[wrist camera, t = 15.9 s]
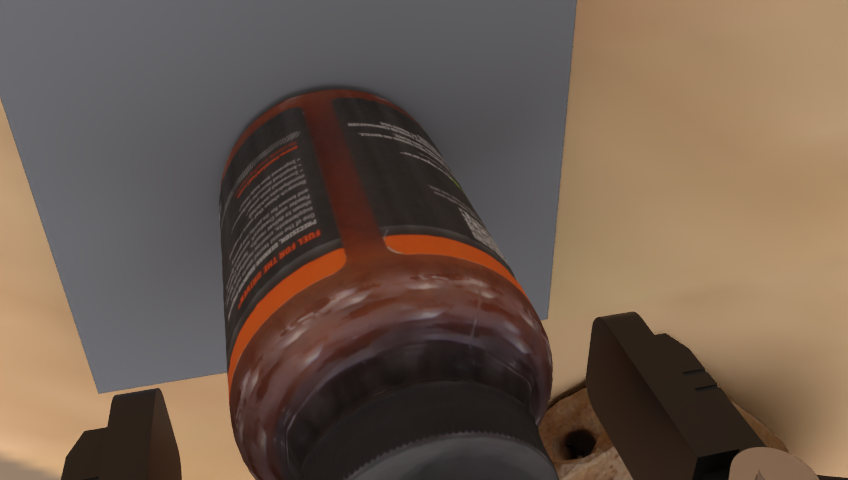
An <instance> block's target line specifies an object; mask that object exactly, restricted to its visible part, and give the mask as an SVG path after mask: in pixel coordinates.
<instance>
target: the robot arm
mask: <svg viewBox="0 0 848 480" xmlns="http://www.w3.org/2000/svg"><path fill="white" fill-rule="evenodd" d="M586 387H587V393H588V397H589V400H590V403H591V406H592V408H593V410H594V412H595V414H596V415H597V417H598V419H599V421H600V422H601V424H602V426H603V428H604V429H605V431H606V433H607V435H608V436H609V438H610V440H611V442H612V443H613V445H614V447H615V449H616V450H617V452H618V454H619V456H620V457H621V459H622V461H623V463H624V464H625V466H626V468H627V470H628V471H629V473H630V475H631V477H632V478H633V480H848V478H842V477H830V476H822V475H816V474H815V472H814V471H813V470H812V469H811V468H810V467H809V466H808V465H807V464H805V463H804V462H803V461H802V460H800V459H798V458H797V457H795V456H793V455H791V454H789V453H787V452H784V451H781V450H778V449H774V448H768V447H767V446H766V445H765V444H764V443H763V441H762V440H761V439H760V438H759V436H758V435H757V434H756V433H755V431H754V430H753V429H752V428H751V426H750V425H749V424H748V422H747V421H746V420H745V419H744V417H743V416H742V415H741V414H740V412H739V411H738V410H737V409H736V407H735V406H734V405H733V404H732V402H731V401H730V400H729V399H728V397H727V396H726V395H725V393H724V392H723V391H722V390H721V388H719V389H718V387H717V383H716V382H715V381H714V380H713V378H712V377H711V376H710V375H709V373H708V372H705V368H704V367H703V366H702V364H701V363H700V362H699V361H698V359H697V358H696V357H695V356H694V354H693V353H692V352H691V351H690V349H689V348H687V347H685V346H684V345H682V344H681V343H679V342H678V341H676V340H675V339H673V338H672V337H670V336H669V335H667V334H666V333H664V334H659V335H654V334H653V333H652V331H651V330H650V329H649V327H648V326H647V325H646V323H645V322H644V321H643V319H642V318H641V317H640V316H639V315H638V314H637V313H636V312H627V313H621V314H615V315H609V316H603V317H597V318H596V319H595V320H594V322H593V325H592V333H591V341H590V349H589V357H588V365H587V373H586ZM61 480H182V476H181V463H180V456H179V451H178V447H177V443H176V440H175V436H174V433H173V429H172V426H171V422H170V419H169V415H168V411H167V408H166V404H165V401H164V397H163V394H162V392H161V390H160V389H159V388H156V389H150V390H144V391H138V392H132V393H126V394H120V395H115V396H114V397H113V400H112V403H111V409H110V415H109V421H108V426H107V427H106V428H100V429H94V430H88V431H84V433H83V434H82V435H81V437H80V438H79V440H78V441H77V442H76V444H75V445H74V447H73V448H72V449H71V451H70V452H69V454H68V455H67V456H66V460H65V464H64V469H63V473H62V477H61Z"/></svg>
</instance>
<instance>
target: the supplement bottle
mask: <svg viewBox="0 0 848 480" xmlns="http://www.w3.org/2000/svg"><path fill="white" fill-rule="evenodd" d="M219 217H220V235H221V252H222V279H223V301H224V319H225V337H226V359H227V375H228V386H229V406H230V415H231V422H232V428H233V433H234V437H235V441H236V444H237V446H238V449H239V451H240V453H241V456H242V458H243V461H244V462H245V464H246V466H247V467H248V469H249V471H250V473H251V474H252V475H253V477H254V478H255V479H256V480H559V477H558V474H557V472H556V469H555V467H554V464H553V462H552V460H551V459H550V457H549V455H548V453H547V451H546V449H545V447H544V445H543V442H542V439H541V437H540V435H539V429H538V428H539V426H540V424H541V421H542V420H543V418H544V415H545V412H546V410H547V406H548V402H549V399H550V395H551V388H552V380H553V378H552V372H553V366H552V355H551V350H550V345H549V341H548V337H547V335H546V332H545V330H544V328H543V326H542V323H541V321H540V319H539V317H538V315H537V313H536V311H535V309H534V308H533V306H532V304H531V302H530V301H529V299H528V297H527V296H526V294H525V292H524V290H523V289H522V287H521V285H520V284H519V283H518V281H517V279H516V277H515V276H514V273H513V271H512V269H511V268H510V267H509V265H508V263H507V260H506V259H505V257H504V256H503V254H502V253H501V251H500V250H499V248H498V247H497V245H496V243H495V242H494V241H493V239H492V237H491V235H490V233H489V232H488V230H487V229H486V227H485V225H484V223H483V222H482V220H481V219H480V217H479V216H478V214H477V213H476V211H475V210H474V208H473V206H472V204H471V203H470V201H469V200H468V198H467V196H466V194H465V193H464V191H463V190H462V188H461V186H460V184H459V183H458V181H457V180H456V178H455V177H454V175H453V173H452V171H451V170H450V168H449V167H448V165H447V164H446V162H445V160H444V159H443V157H442V155H441V153H440V152H439V150H438V149H437V147H436V145H435V144H434V143H433V142H432V140H431V139H430V137H429V136H428V134H427V133H426V132H425V131H424V130H423V128H422V127H421V126H420V124H419V123H418V122H416V121H415V120H414V118H413V117H412V116H410V115H409V114H408V113H407V112H406V111H404V110H403V109H401V108H400V107H398V106H396V105H395V104H393V103H391V102H390V101H388V100H386V99H384V98H380V97H378V96H376V95H373V94H370V93H367V92H362V91H355V90H346V89H332V90H322V91H315V92H310V93H305V94H302V95H299V96H296V97H293V98H289V99H287V100H284V101H282V102H280V103H279V104H277V105H276V106H274V107H272V108H271V109H269V110H268V111H266V112H265V113H264V114H263V115H261V116H260V117H259V118H257V119H256V120H255V121H254V122H253V123H252V124H251V125H250V126H249V127H248V128H247V129H246V130H245V132H244V133H243V134H242V135H241V136H240V138H239V140H238V141H237V142H236V144H235V145H234V147H233V149H232V151H231V152H230V154H229V156H228V158H227V160H226V164H225V167H224V171H223V175H222V179H221V191H220V197H219Z"/></svg>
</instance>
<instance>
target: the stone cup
mask: <svg viewBox="0 0 848 480" xmlns="http://www.w3.org/2000/svg"><path fill="white" fill-rule="evenodd" d="M729 400H730V399H729ZM730 401H731V400H730ZM731 402H732V401H731ZM732 404H733V405H734V406H735V407H736V409H737V410H738V411H739V412H740V414H741V415H742V416H743V417H744V419H745V420H746V421H747V422H748V424H749V425H750V426H751V428H752V429H753V430H754V431H755V433H756V434H757V435H758V436H759V438H760V439H761V440H762V441H763V443H764V444H765V445H766V446H767V447H768V448H774V449H778V450H781V451H784V452H787V453H789V452H788V450H787V448H786V447H785V445H784V444H783V442H781V441H780V440H779V439H778V438H777V437H776V436H775V435H774V434H773V433H772V432H771V431H770V430H769V429H768V428H767V427H765V426H764V425H763V424H762V423H761V422H759V421H758V420H757V419H755V418H754V417H753V416H751V415H750V414H749V413H747V412H746V411H745V410H743V409H742V408H741V407H739V406H738V405H737V404H735V403H734V402H732ZM538 429H539V435H540V437H541V439H542V442H543V445H544V447H545V449H546V451H547V453H548V455H549V457H550V459H551V460H552V462H553V464H554V467H555V469H556V472H557V474H558V477H559V480H633V478H632V477H631V475H630V473H629V471H628V470H627V468H626V466H625V464H624V463H623V461H622V459H621V457H620V456H619V454H618V452H617V450H616V449H615V447H614V445H613V443H612V442H611V440H610V438H609V436H608V435H607V433H606V431H605V429H604V428H603V426H602V424H601V422H600V421H599V419H598V417H597V415H596V414H595V412H594V410H593V408H592V406H591V403H590V400H589V397H588V393H587V388H584V389H581V390H580V391H578V392H576V393H574V394H573V395H571V396H569V397H566V398H564V399H561V400H560V401H558V402H557V403H556V404H555V405H554V406H552V407H551V408H550V409H549V410H547V411H546V412H545V415H544V418H543V420H542V421H541V424H540V426H539V428H538ZM789 454H790V453H789Z"/></svg>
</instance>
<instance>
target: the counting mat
mask: <svg viewBox="0 0 848 480" xmlns="http://www.w3.org/2000/svg"><path fill="white" fill-rule="evenodd" d="M576 4H577V0H0V98H1V101H2V104H3V107H4V110H5V113H6V116H7V119H8V122H9V125H10V128H11V131H12V134H13V137H14V140H15V143H16V146H17V149H18V152H19V155H20V158H21V161H22V164H23V167H24V170H25V173H26V176H27V179H28V182H29V186H30V189H31V192H32V195H33V198H34V201H35V204H36V207H37V210H38V213H39V216H40V219H41V222H42V225H43V228H44V231H45V234H46V237H47V240H48V243H49V246H50V249H51V252H52V255H53V258H54V261H55V264H56V267H57V270H58V273H59V276H60V279H61V282H62V285H63V288H64V291H65V294H66V297H67V300H68V303H69V306H70V309H71V312H72V315H73V318H74V321H75V324H76V327H77V330H78V333H79V336H80V339H81V342H82V345H83V348H84V351H85V354H86V357H87V360H88V363H89V366H90V369H91V372H92V375H93V378H94V381H95V384H96V387H97V391H98V394H100V393H106V392H112V391H118V390H124V389H130V388H136V387H142V386H148V385H154V384H160V383H166V382H172V381H178V380H184V379H190V378H196V377H202V376H208V375H214V374H220V373H226V372H227V359H226V337H225V319H224V301H223V279H222V252H221V235H220V217H219V197H220V191H221V179H222V175H223V171H224V167H225V164H226V160H227V158H228V156H229V154H230V152H231V151H232V149H233V147H234V145H235V144H236V142H237V141H238V140H239V138H240V136H241V135H242V134H243V133H244V132H245V130H246V129H247V128H248V127H249V126H250V125H251V124H252V123H253V122H254V121H255V120H256V119H257V118H259V117H260V116H261V115H263V114H264V113H265V112H266V111H268V110H269V109H271V108H272V107H274V106H276V105H277V104H279V103H280V102H282V101H284V100H287V99H289V98H293V97H296V96H299V95H302V94H305V93H310V92H315V91H322V90H332V89H346V90H355V91H362V92H367V93H370V94H373V95H376V96H378V97H380V98H384V99H386V100H388V101H390V102H391V103H393V104H395V105H396V106H398V107H400V108H401V109H403V110H404V111H406V112H407V113H408V114H409V115H410V116H412V117H413V118H414V120H415V121H416V122H418V123H419V124H420V126H421V127H422V128H423V130H424V131H425V132H426V133H427V134H428V136H429V137H430V139H431V140H432V142H433V143H434V144H435V145H436V147H437V149H438V150H439V152H440V153H441V155H442V157H443V159H444V160H445V162H446V164H447V165H448V167H449V168H450V170H451V171H452V173H453V175H454V177H455V178H456V180H457V181H458V183H459V184H460V186H461V188H462V190H463V191H464V193H465V194H466V196H467V198H468V200H469V201H470V203H471V204H472V206H473V208H474V210H475V211H476V213H477V214H478V216H479V217H480V219H481V220H482V222H483V223H484V225H485V227H486V229H487V230H488V232H489V233H490V235H491V237H492V239H493V241H494V242H495V243H496V245H497V247H498V248H499V250H500V251H501V253H502V254H503V256H504V257H505V259H506V260H507V263H508V265H509V267H510V268H511V269H512V271H513V273H514V276H515V277H516V279H517V281H518V283H519V284H520V285H521V287H522V289H523V290H524V292H525V294H526V296H527V297H528V299H529V301H530V302H531V304H532V306H533V308H534V309H535V311H536V313H537V315H538V317H539V319H540V320H545V319H548V309H549V298H550V287H551V276H552V265H553V254H554V243H555V233H556V222H557V211H558V200H559V189H560V178H561V167H562V157H563V146H564V135H565V124H566V113H567V102H568V91H569V81H570V70H571V59H572V48H573V37H574V26H575V15H576Z"/></svg>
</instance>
